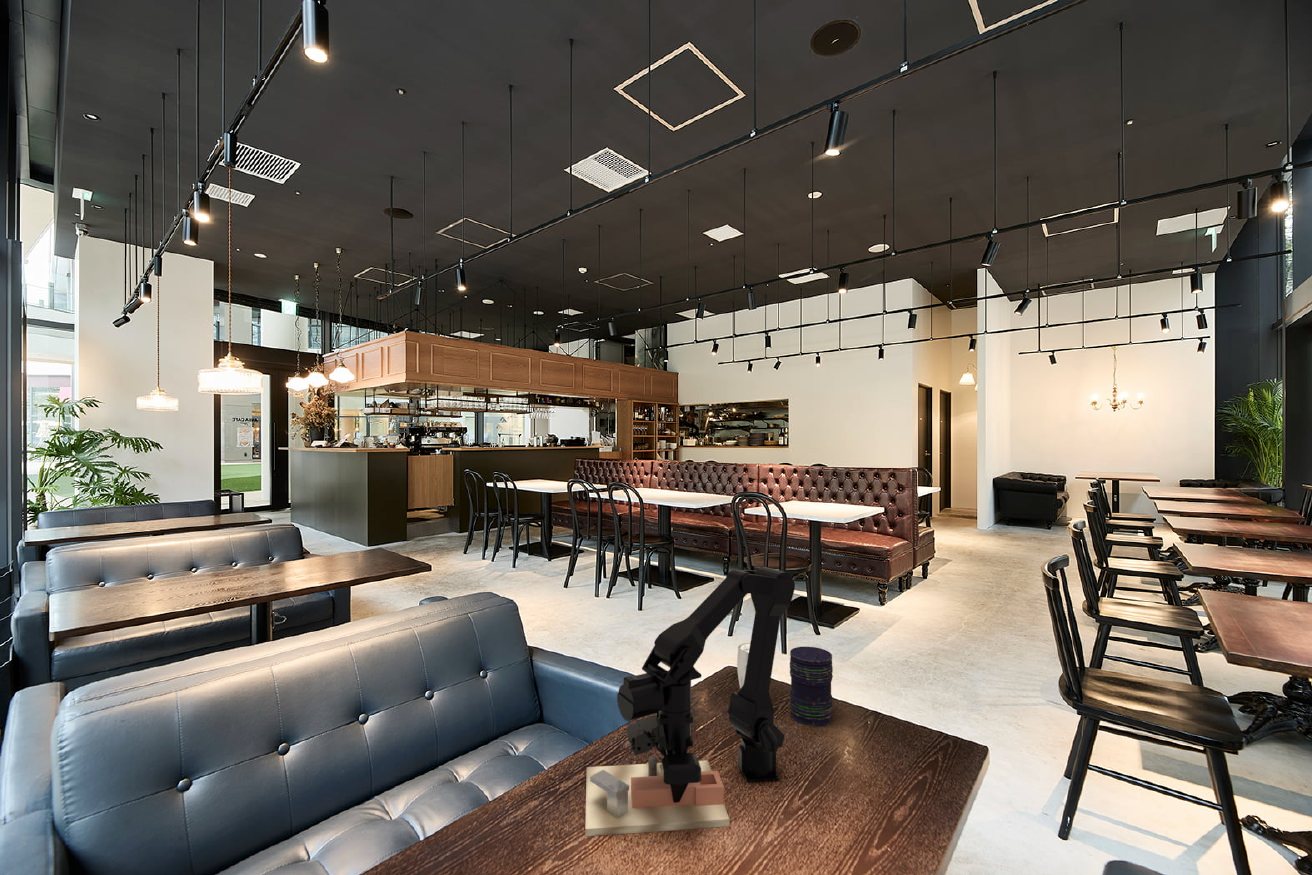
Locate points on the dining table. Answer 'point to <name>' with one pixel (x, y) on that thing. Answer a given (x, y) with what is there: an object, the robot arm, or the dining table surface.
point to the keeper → (613, 792)
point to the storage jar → (811, 686)
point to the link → (659, 793)
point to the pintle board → (649, 816)
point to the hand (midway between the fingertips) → (674, 794)
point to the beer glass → (742, 661)
